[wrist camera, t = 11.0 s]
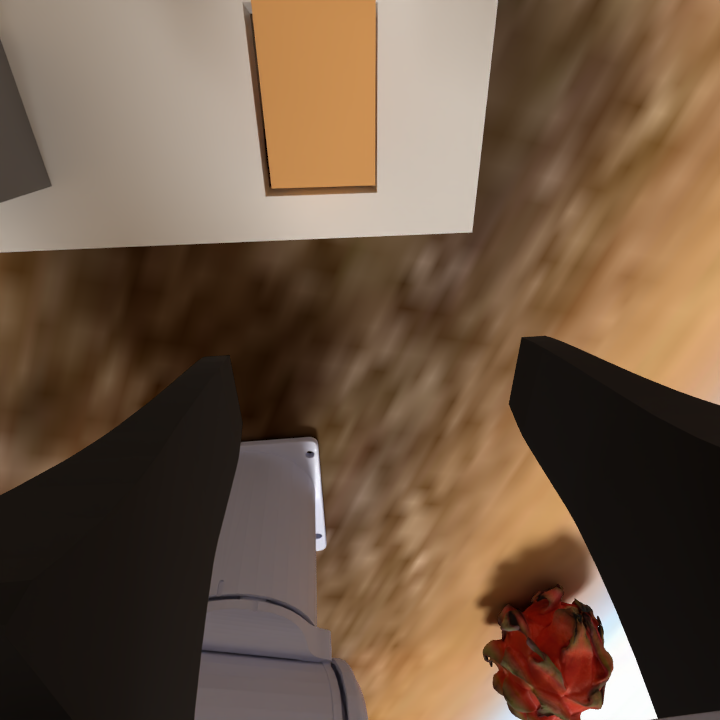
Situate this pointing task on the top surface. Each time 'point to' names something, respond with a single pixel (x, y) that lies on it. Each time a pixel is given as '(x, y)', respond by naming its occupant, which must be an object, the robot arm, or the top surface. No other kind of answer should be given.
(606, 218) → the top surface
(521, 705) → the dragon fruit
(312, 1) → the orange rectangular block
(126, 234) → the white insertion base
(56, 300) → the top surface
